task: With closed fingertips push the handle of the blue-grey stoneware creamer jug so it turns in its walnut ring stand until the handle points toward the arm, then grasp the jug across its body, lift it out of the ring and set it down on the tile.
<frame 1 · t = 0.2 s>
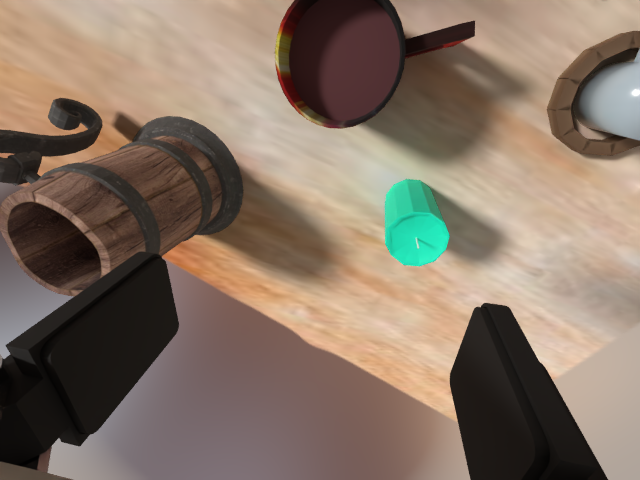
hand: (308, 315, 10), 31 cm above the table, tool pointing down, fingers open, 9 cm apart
candle: (408, 201, 39), on the table
mug: (368, 51, 33), on the table
stand: (609, 97, 31), on the table
tankard: (166, 164, 43), on the table
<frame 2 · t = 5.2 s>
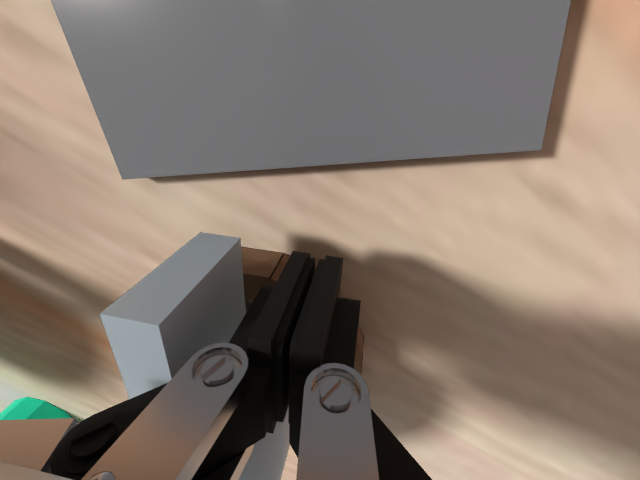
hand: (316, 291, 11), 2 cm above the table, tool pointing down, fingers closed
jug: (218, 368, 12), in the stand, touching gripper
candle: (52, 420, 24), on the table
stand: (256, 339, 16), on the table
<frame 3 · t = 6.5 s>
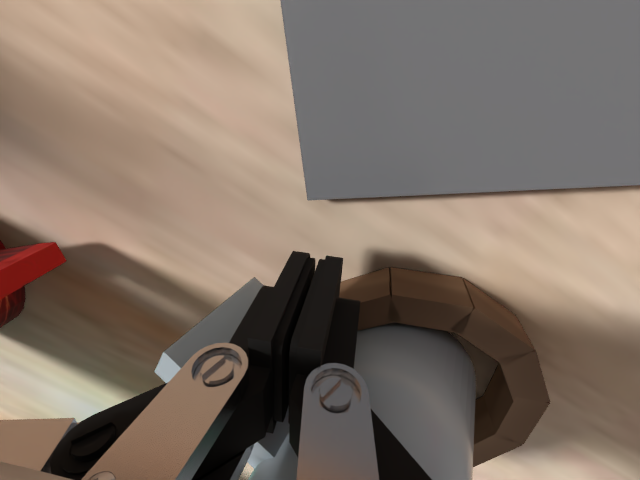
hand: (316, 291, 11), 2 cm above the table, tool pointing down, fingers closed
jug: (332, 398, 11), resting in stand, tilted 16°, touching gripper
stand: (401, 364, 15), on the table
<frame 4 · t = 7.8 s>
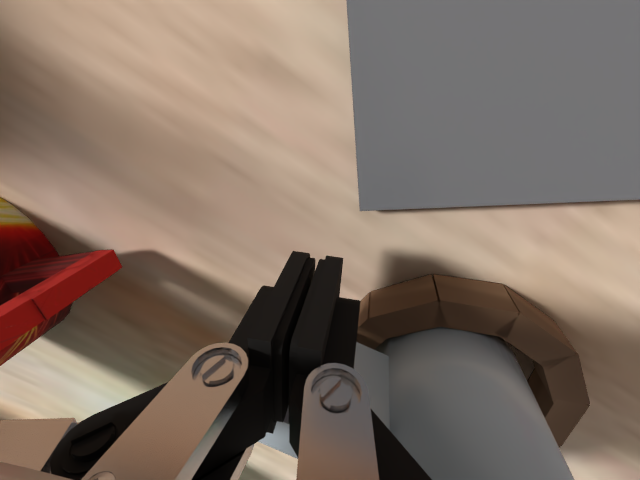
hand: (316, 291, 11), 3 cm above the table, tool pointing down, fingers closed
jug: (402, 400, 12), in the stand
mug: (13, 242, 17), on the table
stand: (438, 367, 15), on the table
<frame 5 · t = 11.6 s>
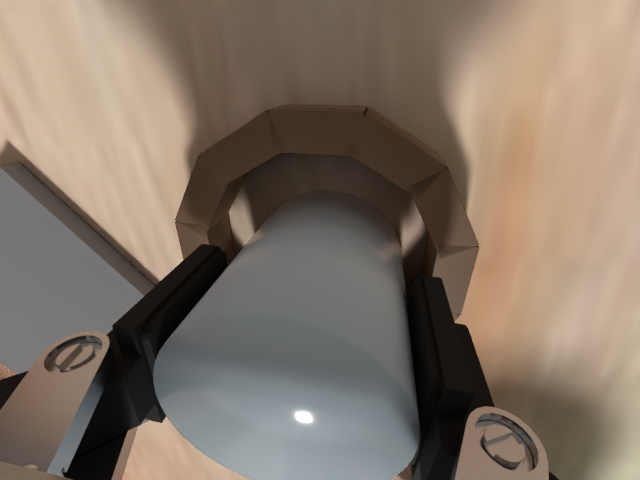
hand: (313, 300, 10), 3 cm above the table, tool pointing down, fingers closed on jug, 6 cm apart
jug: (323, 360, 11), in the stand, touching gripper
tile: (80, 329, 18), on the table
stand: (323, 244, 13), on the table
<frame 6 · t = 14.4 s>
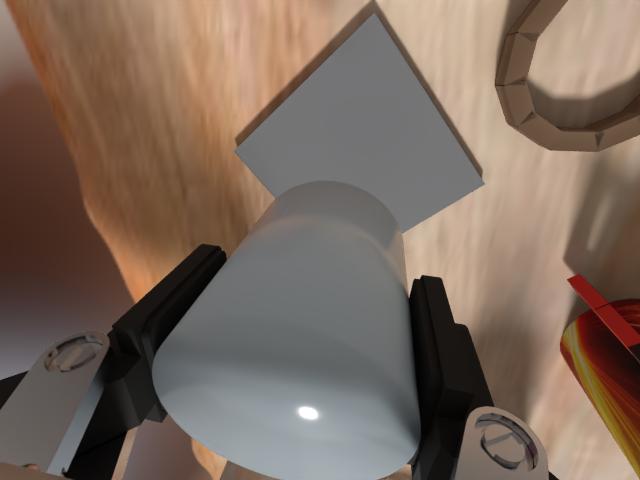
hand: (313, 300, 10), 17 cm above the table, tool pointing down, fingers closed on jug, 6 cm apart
jug: (324, 352, 11), point 18 cm above the table, touching gripper
mug: (598, 330, 28), on the table
tile: (354, 164, 25), on the table
stand: (589, 60, 19), on the table
when the fingers open (4 cm above the table, at t = 17.3 s): jug stays where it is, resting on tile.
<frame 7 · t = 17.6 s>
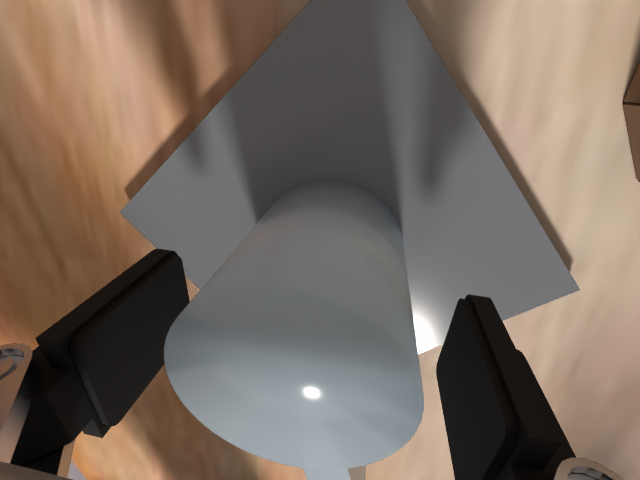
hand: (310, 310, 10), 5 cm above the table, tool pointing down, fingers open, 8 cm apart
jug: (327, 344, 11), on the tile, point 4 cm above the table
tile: (332, 239, 14), on the table
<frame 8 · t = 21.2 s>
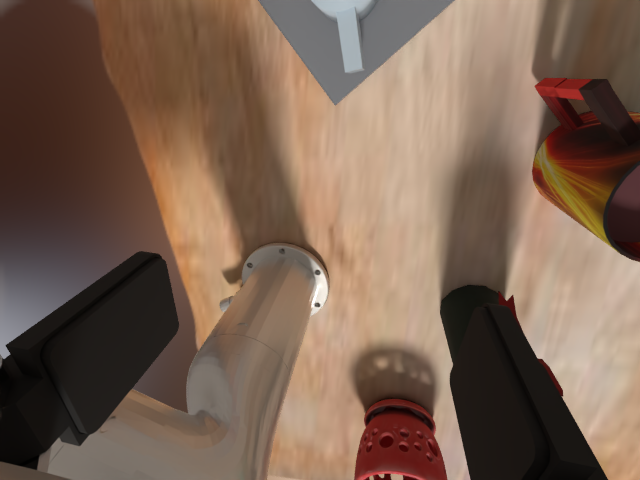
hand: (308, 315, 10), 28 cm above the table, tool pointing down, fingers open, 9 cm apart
jug: (347, 2, 25), on the tile, point 4 cm above the table
wine bottle: (474, 301, 41), on the table
mug: (566, 152, 31), on the table
plant pot: (397, 415, 54), on the table
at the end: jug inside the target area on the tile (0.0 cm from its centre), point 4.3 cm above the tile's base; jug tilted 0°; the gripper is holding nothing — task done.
